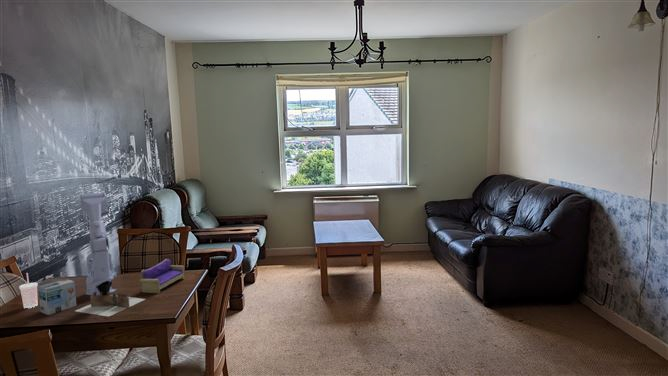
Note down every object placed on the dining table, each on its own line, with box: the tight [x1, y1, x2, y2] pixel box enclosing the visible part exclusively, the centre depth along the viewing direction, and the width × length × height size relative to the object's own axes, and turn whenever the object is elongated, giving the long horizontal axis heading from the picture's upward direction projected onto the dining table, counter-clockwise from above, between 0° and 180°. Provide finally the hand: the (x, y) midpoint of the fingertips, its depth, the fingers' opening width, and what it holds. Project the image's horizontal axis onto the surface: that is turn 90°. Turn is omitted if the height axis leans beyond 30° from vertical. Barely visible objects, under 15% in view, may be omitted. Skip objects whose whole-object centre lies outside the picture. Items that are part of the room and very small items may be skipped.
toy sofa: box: [139, 258, 185, 294], centre depth 190 cm, size 21×9×10 cm, turn 167°
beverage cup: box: [18, 272, 39, 309], centre depth 170 cm, size 6×6×14 cm
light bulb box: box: [37, 278, 77, 316], centre depth 165 cm, size 11×7×11 cm, turn 148°
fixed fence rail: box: [116, 292, 130, 309], centre depth 166 cm, size 5×1×5 cm, turn 69°
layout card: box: [75, 296, 146, 317], centre depth 168 cm, size 18×18×1 cm
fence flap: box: [89, 292, 117, 306], centre depth 167 cm, size 10×1×5 cm, turn 90°
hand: (105, 299), depth 168 cm, fingers closed, pressing on fence flap
